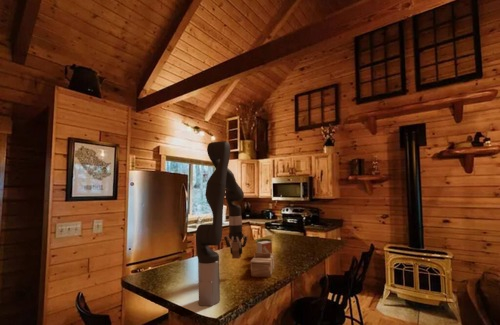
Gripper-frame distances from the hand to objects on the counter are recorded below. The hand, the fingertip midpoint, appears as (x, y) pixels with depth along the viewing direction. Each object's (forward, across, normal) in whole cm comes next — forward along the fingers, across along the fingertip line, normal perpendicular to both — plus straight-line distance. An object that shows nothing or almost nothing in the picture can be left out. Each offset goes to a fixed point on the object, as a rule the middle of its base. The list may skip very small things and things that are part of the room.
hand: (236, 254), depth 147 cm
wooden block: (+2, 0, 0) cm, 2 cm away
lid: (+5, +14, +9) cm, 17 cm away
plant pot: (+12, +8, +43) cm, 45 cm away
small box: (+12, +11, +28) cm, 32 cm away
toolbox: (+12, +14, +9) cm, 20 cm away
